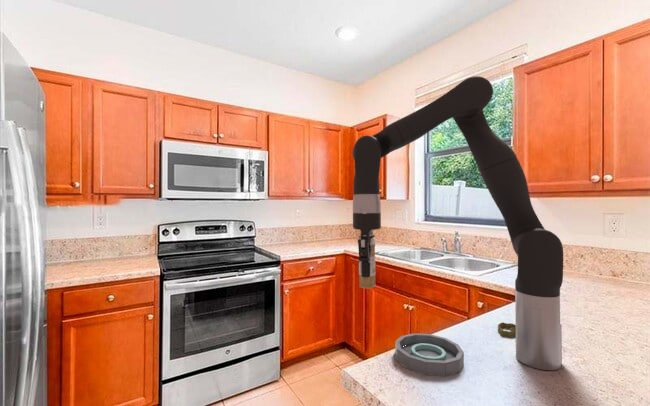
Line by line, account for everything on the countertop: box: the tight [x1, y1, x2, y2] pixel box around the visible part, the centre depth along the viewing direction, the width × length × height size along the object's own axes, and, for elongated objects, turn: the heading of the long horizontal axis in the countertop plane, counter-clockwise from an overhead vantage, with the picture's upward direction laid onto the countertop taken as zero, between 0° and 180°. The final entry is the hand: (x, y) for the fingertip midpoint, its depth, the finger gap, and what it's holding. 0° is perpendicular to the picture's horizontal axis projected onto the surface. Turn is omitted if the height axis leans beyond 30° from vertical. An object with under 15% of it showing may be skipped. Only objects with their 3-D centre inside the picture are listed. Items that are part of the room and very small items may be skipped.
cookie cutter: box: [497, 321, 516, 338], centre depth 95 cm, size 18×12×2 cm, turn 123°
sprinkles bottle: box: [357, 236, 377, 289], centre depth 83 cm, size 5×5×14 cm
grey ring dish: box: [394, 333, 465, 377], centre depth 78 cm, size 16×16×3 cm
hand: (367, 274), depth 83 cm, fingers closed on sprinkles bottle, 4 cm apart
